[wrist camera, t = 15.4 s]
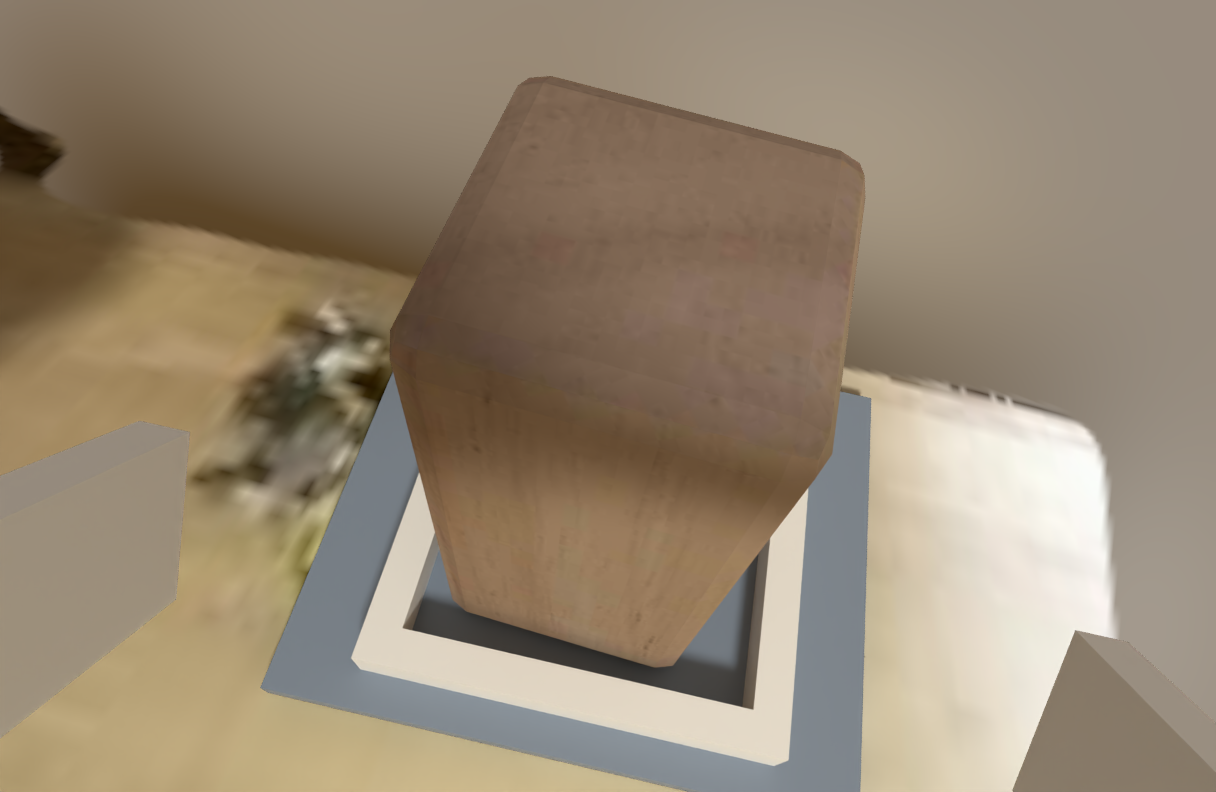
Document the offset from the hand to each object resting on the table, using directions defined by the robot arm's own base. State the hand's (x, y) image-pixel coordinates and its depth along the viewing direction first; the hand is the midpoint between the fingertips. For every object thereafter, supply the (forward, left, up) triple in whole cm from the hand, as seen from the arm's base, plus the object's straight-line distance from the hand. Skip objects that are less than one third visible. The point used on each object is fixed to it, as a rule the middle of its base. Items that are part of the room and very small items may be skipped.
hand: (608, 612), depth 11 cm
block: (-2, +9, -22) cm, 24 cm away
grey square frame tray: (-2, +10, -23) cm, 25 cm away
